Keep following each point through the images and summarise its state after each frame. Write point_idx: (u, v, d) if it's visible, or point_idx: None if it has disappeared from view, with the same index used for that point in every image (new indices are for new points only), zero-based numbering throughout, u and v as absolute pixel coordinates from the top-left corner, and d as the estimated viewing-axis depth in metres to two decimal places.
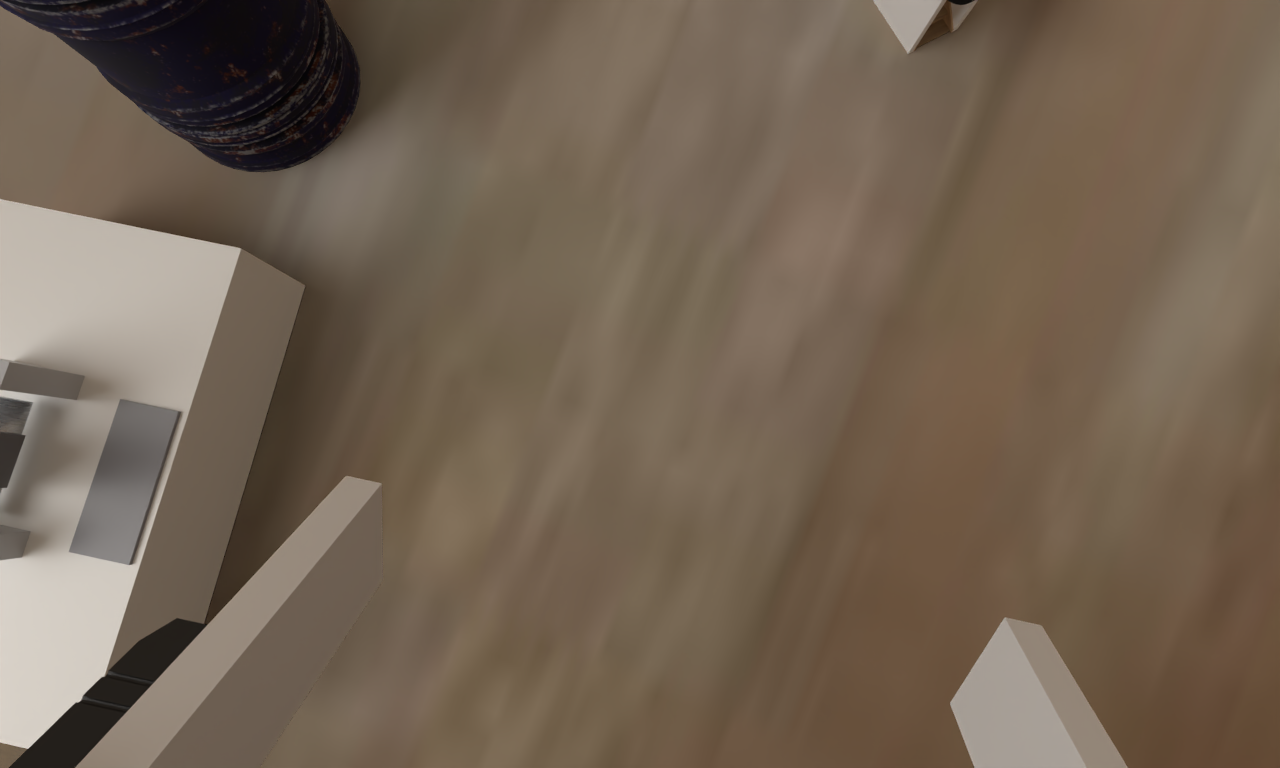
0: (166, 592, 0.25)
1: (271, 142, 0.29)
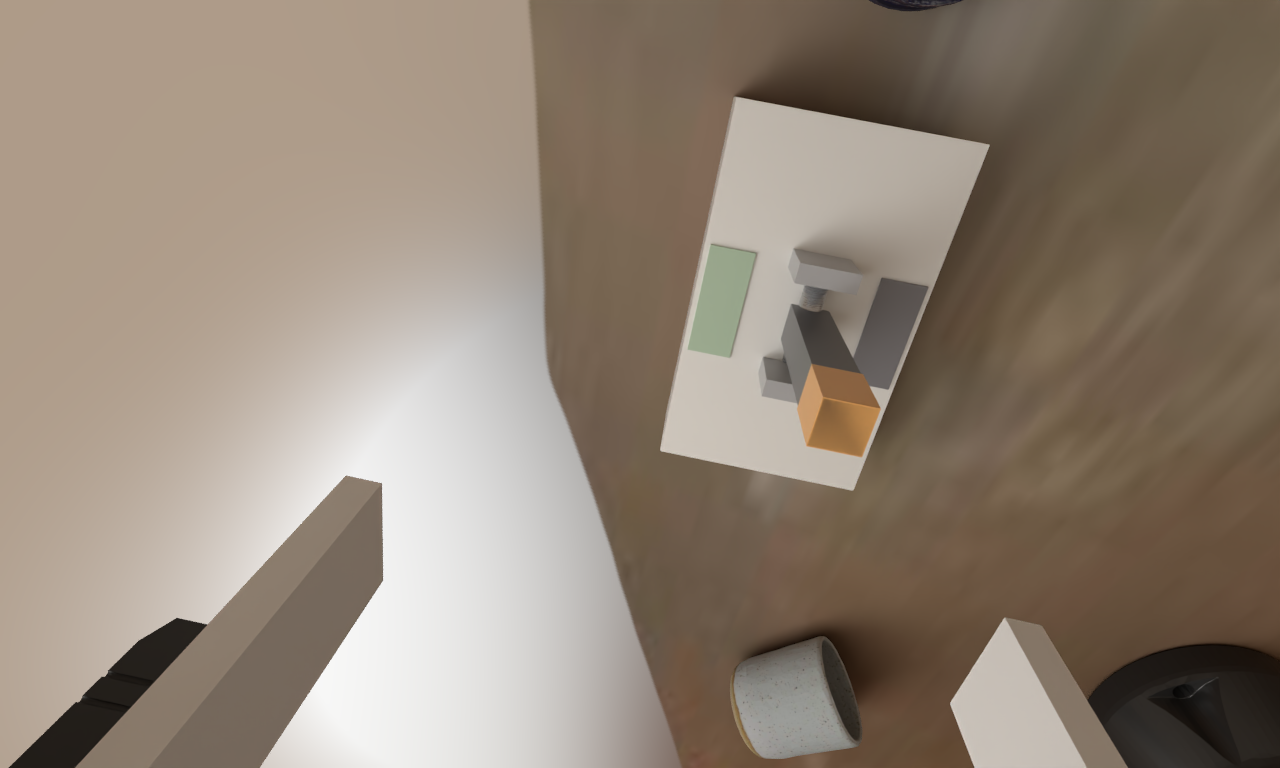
0: None
1: None
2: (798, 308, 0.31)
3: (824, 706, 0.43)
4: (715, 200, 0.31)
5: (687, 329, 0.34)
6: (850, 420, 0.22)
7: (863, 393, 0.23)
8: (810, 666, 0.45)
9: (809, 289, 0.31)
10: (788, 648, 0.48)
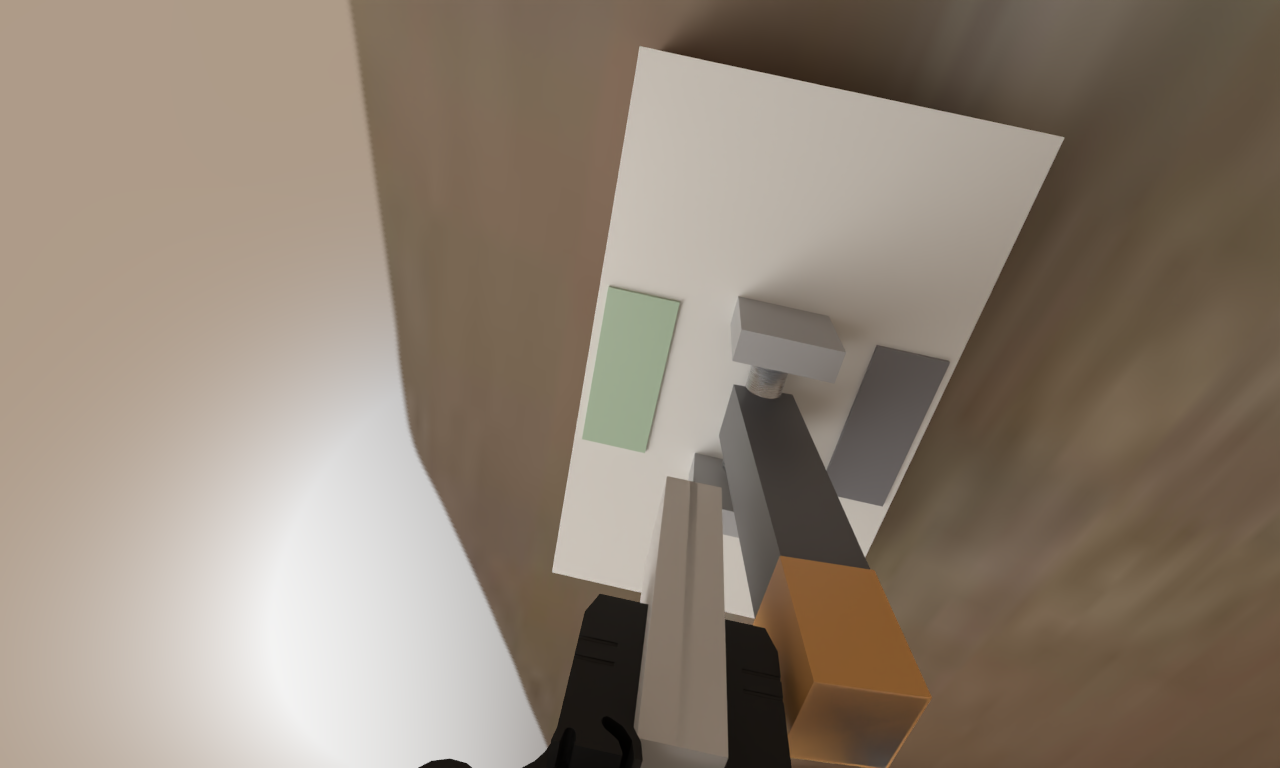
0: None
1: None
2: (745, 394, 0.20)
3: None
4: (613, 218, 0.19)
5: (580, 410, 0.23)
6: (869, 716, 0.11)
7: (887, 643, 0.11)
8: None
9: None
10: None
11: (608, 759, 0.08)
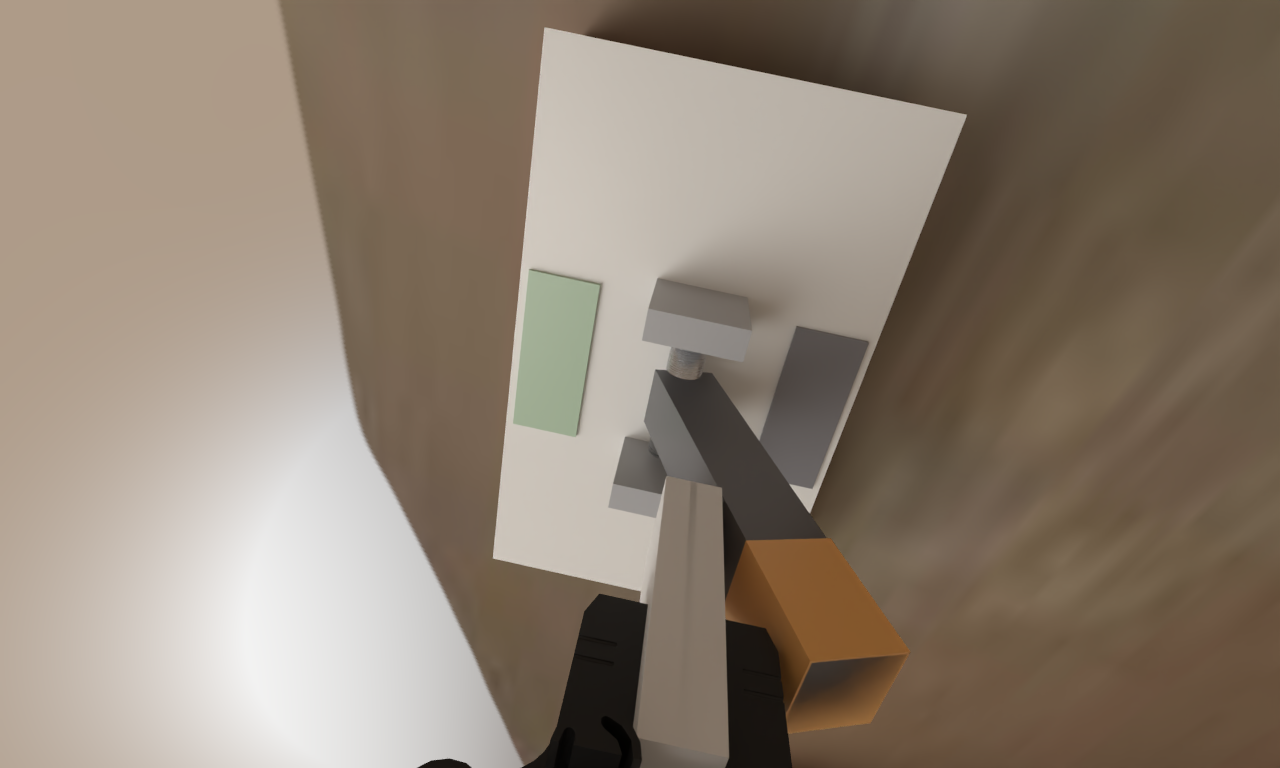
0: None
1: None
2: (669, 378, 0.20)
3: None
4: (529, 200, 0.19)
5: (510, 394, 0.23)
6: (856, 681, 0.11)
7: (861, 607, 0.12)
8: None
9: None
10: None
11: (607, 759, 0.08)
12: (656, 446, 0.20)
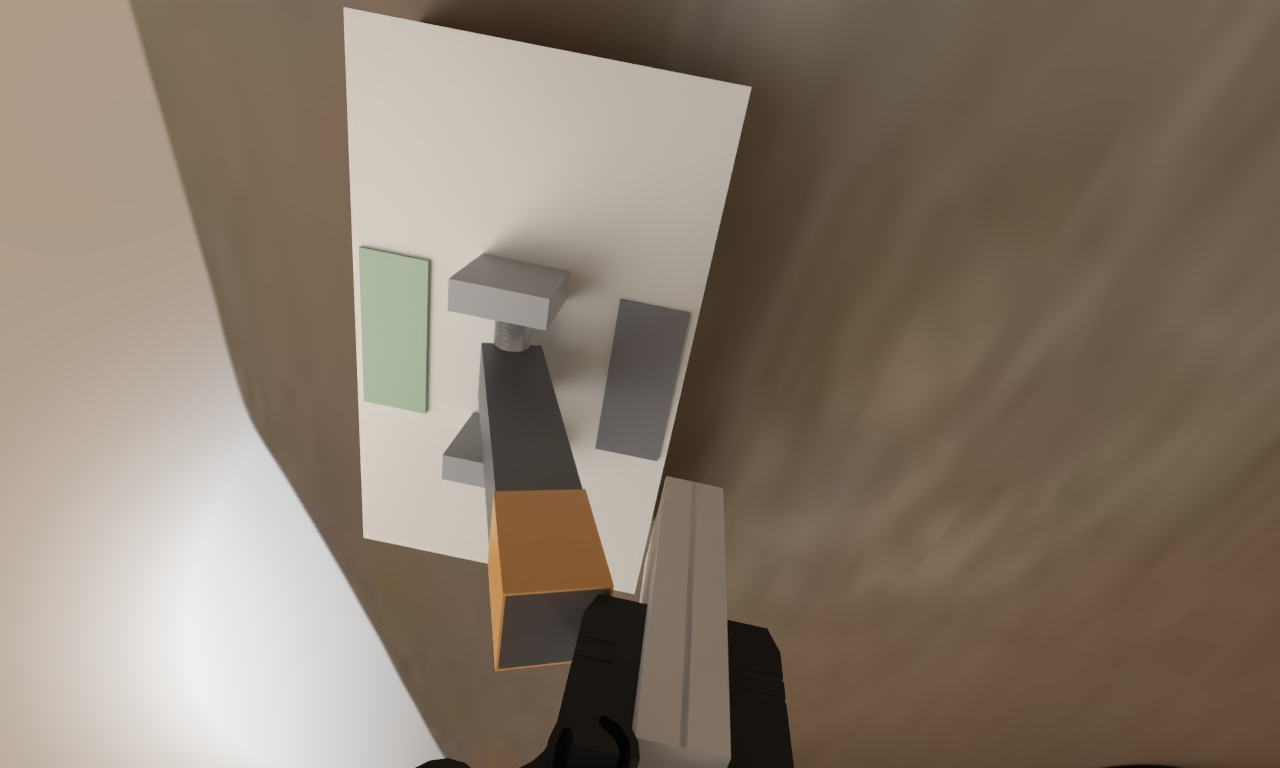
0: None
1: None
2: (492, 350, 0.20)
3: None
4: (351, 178, 0.20)
5: (358, 372, 0.23)
6: (564, 615, 0.12)
7: (583, 548, 0.13)
8: None
9: None
10: None
11: (605, 758, 0.08)
12: (480, 417, 0.20)
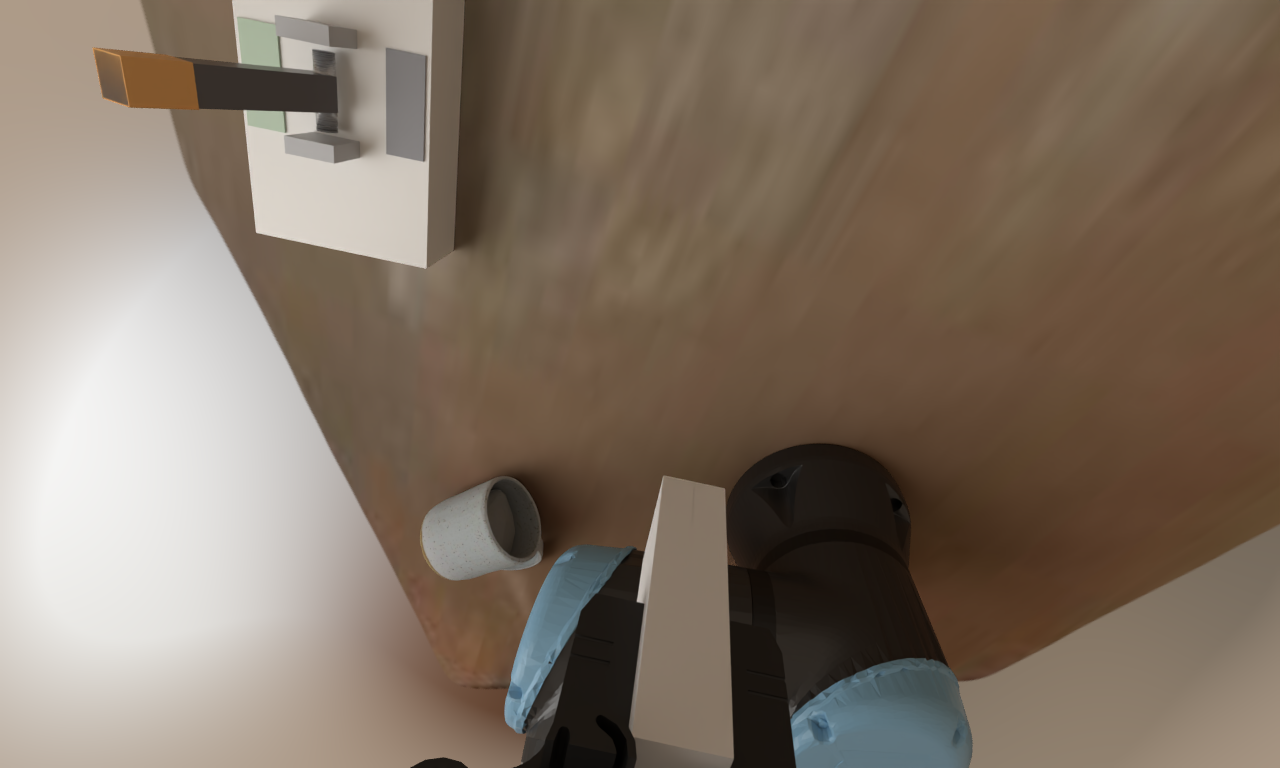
0: (440, 179, 0.41)
1: None
2: (307, 70, 0.36)
3: (479, 522, 0.49)
4: None
5: None
6: (111, 69, 0.27)
7: (141, 56, 0.28)
8: (479, 493, 0.51)
9: (312, 51, 0.36)
10: None
11: (602, 758, 0.08)
12: None
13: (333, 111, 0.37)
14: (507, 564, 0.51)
